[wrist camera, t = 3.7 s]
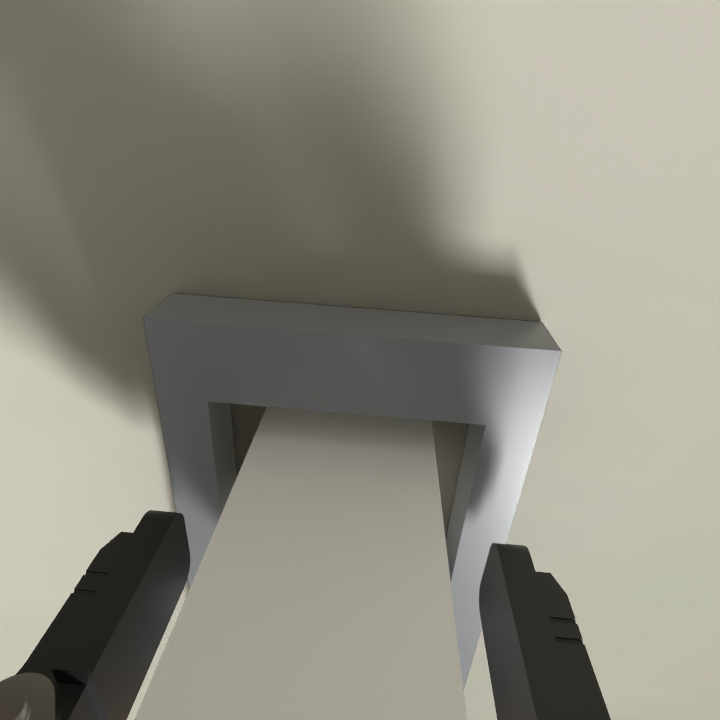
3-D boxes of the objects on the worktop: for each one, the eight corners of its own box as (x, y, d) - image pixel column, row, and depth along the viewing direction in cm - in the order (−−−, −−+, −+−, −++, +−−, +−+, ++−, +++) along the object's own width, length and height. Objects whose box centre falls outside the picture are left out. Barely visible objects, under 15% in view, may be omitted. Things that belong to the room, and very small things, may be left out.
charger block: (431, 417, 13) (492, 935, 5) (413, 534, 15) (435, 1029, 7) (267, 404, 13) (63, 887, 5) (272, 521, 15) (135, 992, 7)
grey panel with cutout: (542, 321, 11) (574, 370, 9) (438, 724, 20) (443, 794, 18) (172, 293, 11) (123, 334, 9) (228, 702, 20) (209, 769, 18)
